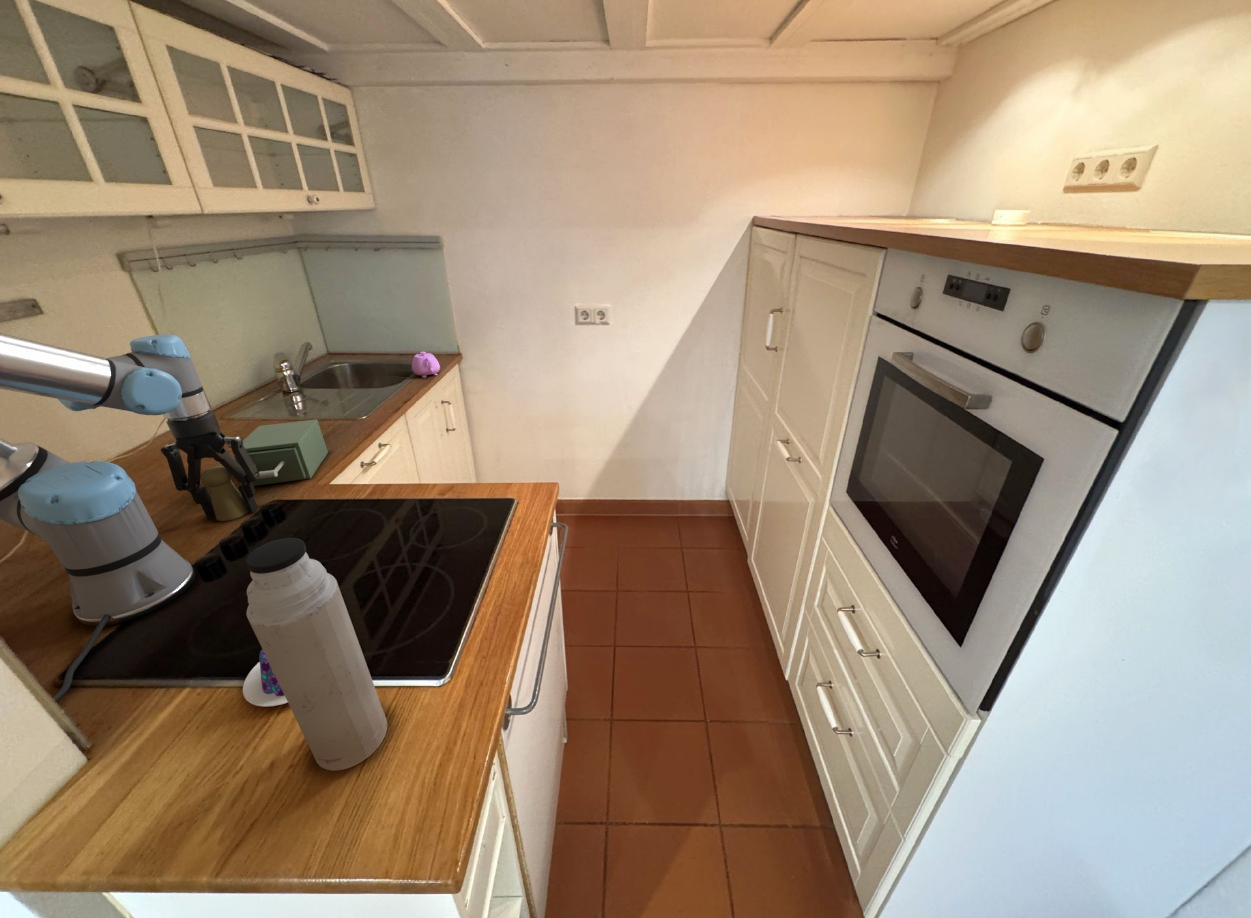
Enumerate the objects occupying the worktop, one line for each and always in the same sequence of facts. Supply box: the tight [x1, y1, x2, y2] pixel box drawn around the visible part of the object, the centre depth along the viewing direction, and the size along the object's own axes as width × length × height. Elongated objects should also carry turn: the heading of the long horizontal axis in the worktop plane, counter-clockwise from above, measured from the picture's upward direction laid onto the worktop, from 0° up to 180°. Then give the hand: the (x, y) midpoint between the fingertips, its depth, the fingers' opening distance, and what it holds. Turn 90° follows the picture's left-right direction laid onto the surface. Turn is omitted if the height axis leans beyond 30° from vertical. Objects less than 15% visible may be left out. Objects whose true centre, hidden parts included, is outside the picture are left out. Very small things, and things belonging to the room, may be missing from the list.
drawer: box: [233, 446, 306, 486], centre depth 122 cm, size 21×13×8 cm, turn 14°
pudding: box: [242, 648, 289, 707], centre depth 69 cm, size 12×12×5 cm
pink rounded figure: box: [411, 351, 441, 379], centre depth 202 cm, size 10×15×9 cm
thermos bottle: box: [245, 537, 388, 772], centre depth 54 cm, size 8×8×28 cm
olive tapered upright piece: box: [200, 465, 249, 522], centre depth 107 cm, size 6×6×11 cm
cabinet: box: [243, 419, 329, 487], centre depth 127 cm, size 16×14×10 cm
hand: (232, 512), depth 109 cm, fingers open, 7 cm apart
